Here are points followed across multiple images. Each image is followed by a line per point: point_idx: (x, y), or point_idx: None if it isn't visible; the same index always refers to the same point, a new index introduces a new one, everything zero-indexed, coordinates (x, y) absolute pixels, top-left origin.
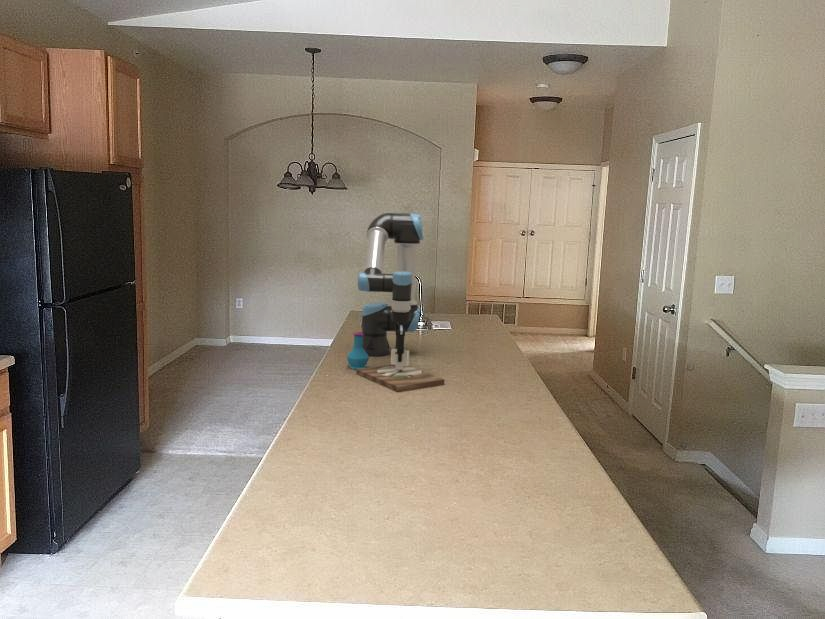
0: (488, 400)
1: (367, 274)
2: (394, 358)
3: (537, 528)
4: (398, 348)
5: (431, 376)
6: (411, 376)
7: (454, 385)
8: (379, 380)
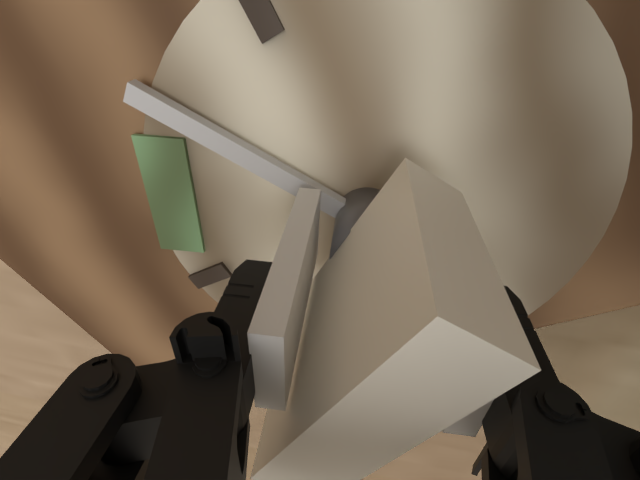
0: (7, 437)
1: None
2: (374, 248)
3: None
4: (4, 472)
5: None
6: (188, 275)
7: None
8: None
